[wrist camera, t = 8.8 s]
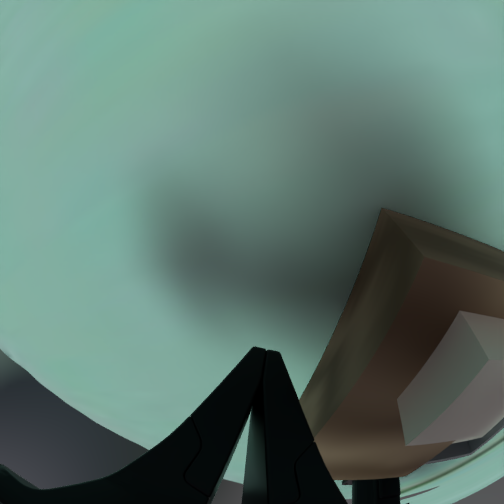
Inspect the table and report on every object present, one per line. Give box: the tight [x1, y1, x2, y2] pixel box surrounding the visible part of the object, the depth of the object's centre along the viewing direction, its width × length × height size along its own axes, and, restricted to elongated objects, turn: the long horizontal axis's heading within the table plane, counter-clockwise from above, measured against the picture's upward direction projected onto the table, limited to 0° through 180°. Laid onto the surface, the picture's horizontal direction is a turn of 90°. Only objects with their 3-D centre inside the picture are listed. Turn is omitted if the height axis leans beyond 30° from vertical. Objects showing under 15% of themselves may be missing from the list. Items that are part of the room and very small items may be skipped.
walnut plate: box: [299, 208, 504, 480], centre depth 13 cm, size 18×11×5 cm, turn 171°
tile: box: [397, 311, 504, 446], centre depth 7 cm, size 5×5×2 cm
